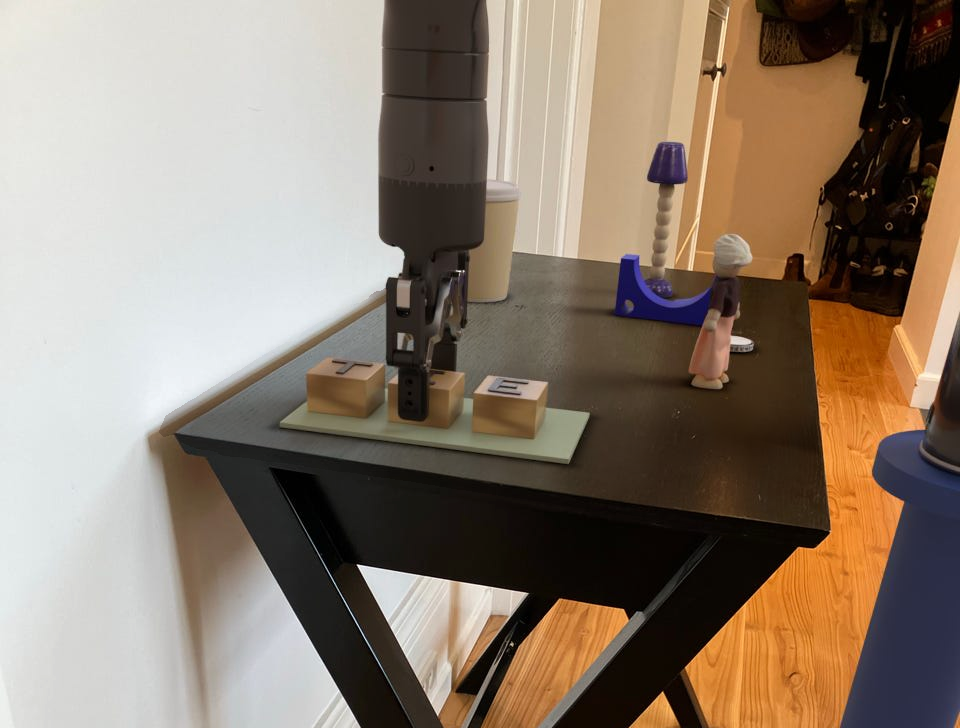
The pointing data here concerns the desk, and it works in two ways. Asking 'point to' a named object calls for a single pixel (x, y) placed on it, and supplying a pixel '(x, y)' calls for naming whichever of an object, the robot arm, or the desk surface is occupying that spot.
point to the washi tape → (740, 344)
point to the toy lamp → (664, 208)
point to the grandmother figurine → (720, 313)
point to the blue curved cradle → (655, 298)
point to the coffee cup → (494, 244)
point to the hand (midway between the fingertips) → (428, 403)
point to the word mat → (453, 432)
